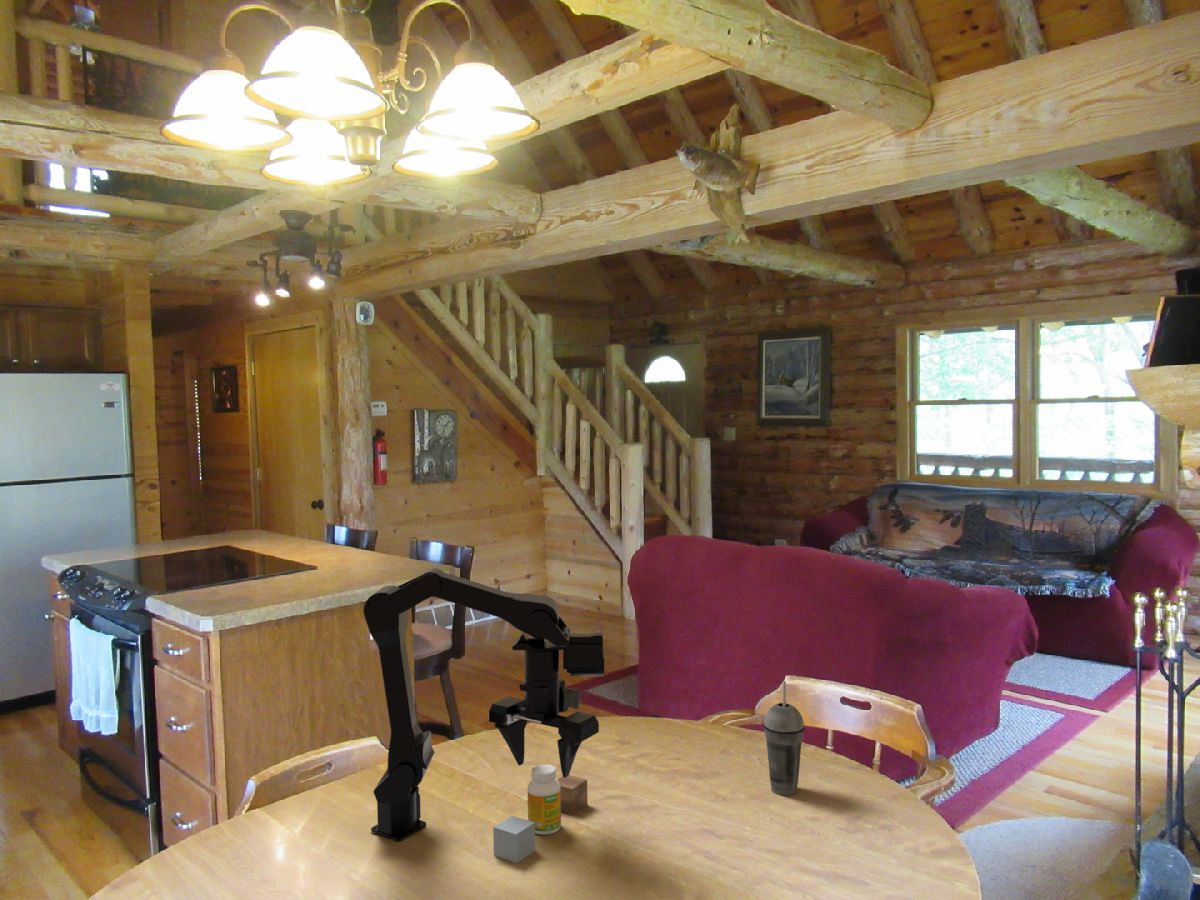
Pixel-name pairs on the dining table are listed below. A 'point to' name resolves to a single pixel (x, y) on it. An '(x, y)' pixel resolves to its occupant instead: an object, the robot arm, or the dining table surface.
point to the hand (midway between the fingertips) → (542, 770)
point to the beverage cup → (784, 746)
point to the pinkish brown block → (573, 794)
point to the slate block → (514, 839)
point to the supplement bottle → (544, 800)
